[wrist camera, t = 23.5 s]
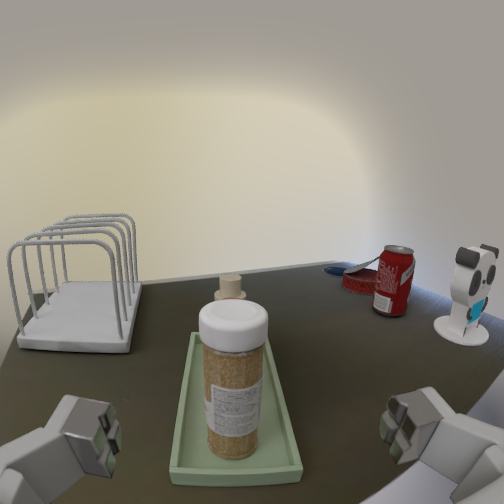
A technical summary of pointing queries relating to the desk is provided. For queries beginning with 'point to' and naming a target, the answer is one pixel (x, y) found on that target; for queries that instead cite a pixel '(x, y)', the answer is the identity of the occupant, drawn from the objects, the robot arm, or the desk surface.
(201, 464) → the tray
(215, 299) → the cream bottle
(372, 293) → the canned food
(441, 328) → the panda figurine
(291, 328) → the desk surface
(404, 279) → the soda can
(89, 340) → the file sorter
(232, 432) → the sprinkles bottle
